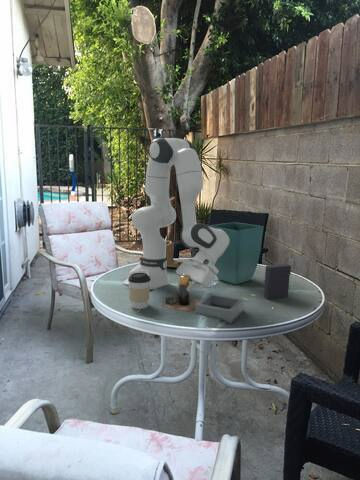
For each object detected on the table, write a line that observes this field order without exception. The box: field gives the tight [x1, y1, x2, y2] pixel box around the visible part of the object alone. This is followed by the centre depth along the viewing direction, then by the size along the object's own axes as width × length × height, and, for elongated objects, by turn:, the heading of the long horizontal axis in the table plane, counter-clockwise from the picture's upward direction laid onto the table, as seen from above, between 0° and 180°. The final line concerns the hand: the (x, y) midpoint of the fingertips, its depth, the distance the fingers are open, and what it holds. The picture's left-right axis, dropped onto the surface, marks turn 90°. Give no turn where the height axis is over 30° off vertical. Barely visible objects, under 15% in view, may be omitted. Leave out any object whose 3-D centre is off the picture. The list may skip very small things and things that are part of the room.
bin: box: [194, 293, 245, 324], centre depth 164 cm, size 15×15×5 cm
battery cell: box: [178, 274, 191, 305], centre depth 170 cm, size 4×4×13 cm
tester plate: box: [161, 291, 202, 313], centre depth 171 cm, size 14×14×4 cm
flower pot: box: [208, 221, 264, 285], centre depth 209 cm, size 20×20×28 cm
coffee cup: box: [127, 273, 151, 310], centre depth 167 cm, size 9×9×15 cm
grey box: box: [263, 263, 292, 301], centre depth 184 cm, size 11×4×15 cm, turn 111°
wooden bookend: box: [165, 240, 184, 269], centre depth 234 cm, size 15×12×15 cm
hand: (183, 288), depth 170 cm, fingers closed on battery cell, 4 cm apart
